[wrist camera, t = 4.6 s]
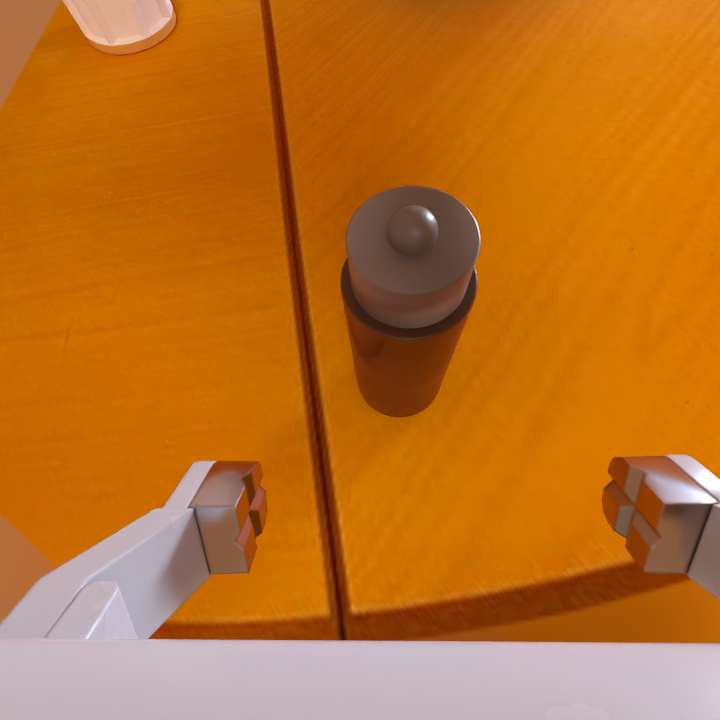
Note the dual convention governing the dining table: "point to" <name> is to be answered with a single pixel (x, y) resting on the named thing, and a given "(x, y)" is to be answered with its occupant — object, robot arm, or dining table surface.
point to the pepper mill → (407, 293)
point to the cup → (123, 23)
